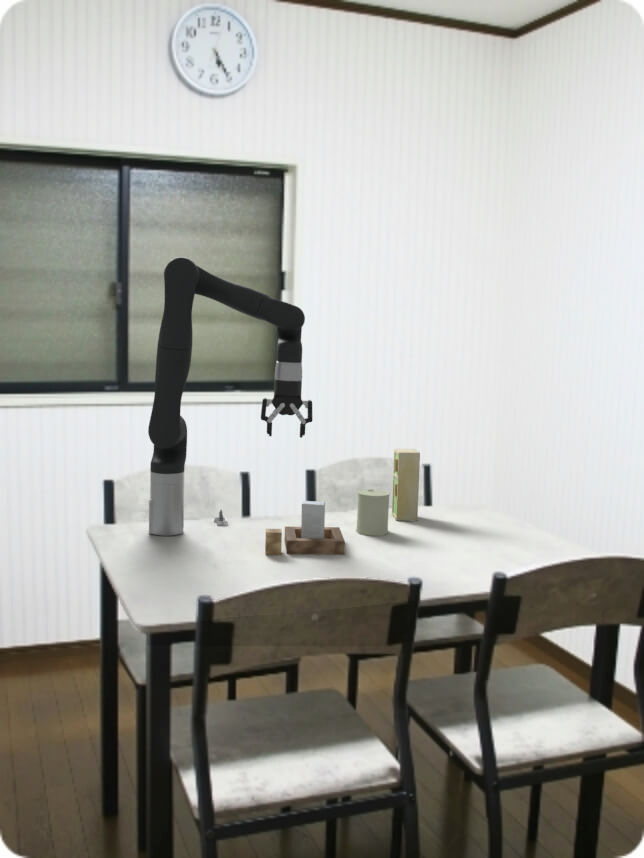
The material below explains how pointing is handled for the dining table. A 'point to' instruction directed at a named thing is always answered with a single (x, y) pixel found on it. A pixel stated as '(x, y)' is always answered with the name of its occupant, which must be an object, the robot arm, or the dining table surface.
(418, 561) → the dining table surface
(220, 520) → the grey spired figurine
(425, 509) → the dining table surface
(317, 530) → the skincare box
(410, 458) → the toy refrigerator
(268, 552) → the short oak peg
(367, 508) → the can
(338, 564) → the dining table surface
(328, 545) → the brown wooden square frame
